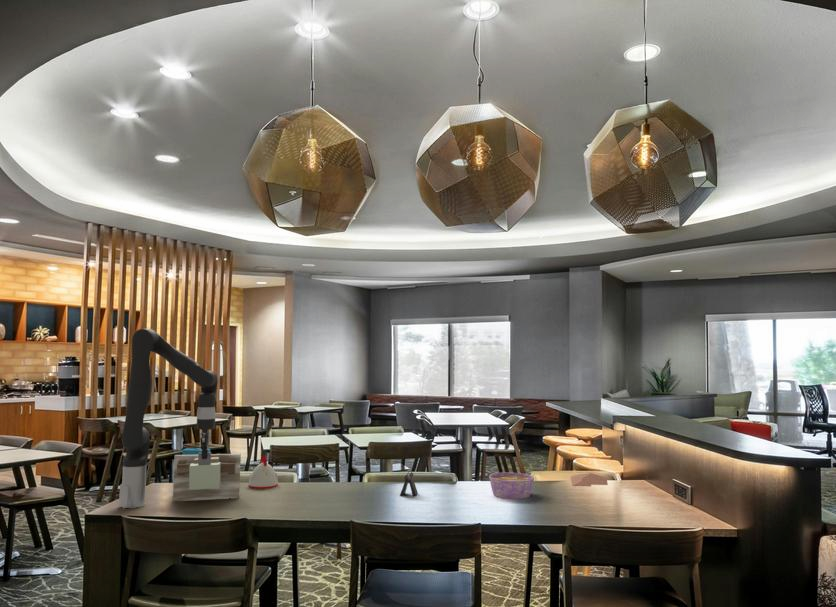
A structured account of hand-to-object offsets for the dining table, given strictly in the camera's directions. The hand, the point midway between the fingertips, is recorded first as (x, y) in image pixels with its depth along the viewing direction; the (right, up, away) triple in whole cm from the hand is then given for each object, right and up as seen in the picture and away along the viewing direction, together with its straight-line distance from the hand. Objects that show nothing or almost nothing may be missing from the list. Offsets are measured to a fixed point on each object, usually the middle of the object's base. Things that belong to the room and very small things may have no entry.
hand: (204, 458), depth 273 cm
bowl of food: (+133, -23, +11) cm, 135 cm away
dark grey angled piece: (+87, -23, +14) cm, 91 cm away
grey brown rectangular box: (-2, -21, +9) cm, 23 cm away
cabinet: (-1, -13, +3) cm, 13 cm away
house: (+176, -26, +41) cm, 182 cm away
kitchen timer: (+16, -24, +38) cm, 47 cm away
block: (-12, -22, +23) cm, 34 cm away
